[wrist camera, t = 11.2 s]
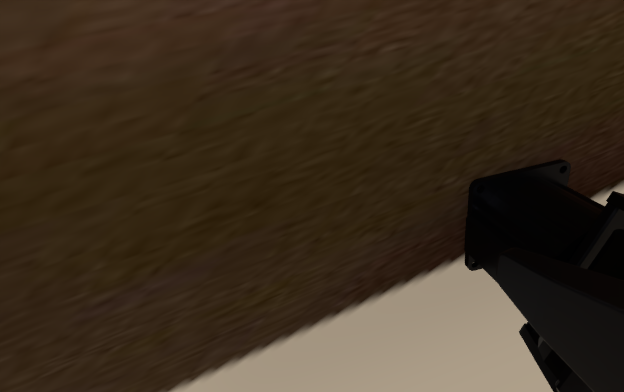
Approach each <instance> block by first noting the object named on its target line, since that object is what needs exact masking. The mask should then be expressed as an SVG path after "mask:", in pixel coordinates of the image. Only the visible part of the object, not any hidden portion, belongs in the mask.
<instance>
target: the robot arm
mask: <svg viewBox="0 0 624 392" xmlns="http://www.w3.org/2000/svg"><path fill="white" fill-rule="evenodd" d="M560 168H561V169H560ZM570 168H571V166H570V163H568V162H566V161H564V160H556V161H552V162H547V163H543V164H539V165H535V166H530V167H526V168H522V169H518V170H513V171H509V172H505V173H501V174H496V175H492V176H488V177H484V178H479V179H476V180H474V181H473V182H472V183H471V184H470V187H469V200H468V216H467V218H466V232H465V265H466V266H467V267H468V268H469V270H471V271H473V270H478V269H482V268H483V269H484V270H485V271H486V272H487V273H488V274H489V275H490V276H491V277H492V278H493V279H494V280H495V281H496V282H497V283H498V284H499V285H500V287H501V288H502V289H503V291H504V292H505V293H506V294H507V295H508V297H509V298H510V299H511V301H512V302H513V303H514V304H515V306H516V307H517V308H518V309H519V310H520V312H521V313H522V314H523V316H524V317H525V318H526V319H527V321H528V322H527V324H524V325H523V327H522V328H521V330H520V331H519V333H520V335H521V336H522V338H523V340H524V342H525V343H526V345H527V347H528V349H529V350H530V352H531V354H532V356H533V357H534V359H535V361H536V362H537V364H538V366H539V368H540V369H541V371H542V373H543V374H544V376H545V378H546V380H547V381H548V383H549V385H550V386H551V388H552V390H553V391H554V392H624V194H621V193H618V192H615V191H612V193H611V194H610V196H609V198H608V199H607V200H606V201H607V202H608V203H607V204H606V206H603V205H601V204H599V203H597V202H595V201H593V200H591V199H589V198H588V197H586V196H584V195H582V194H580V193H578V192H576V191H574V190H572V189H571V188H569V187H567V184H568V179H569V173H570ZM479 186H481V187H480V188H479V189H478V190H477V188H478V187H479ZM473 262H474V263H473Z"/></svg>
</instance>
